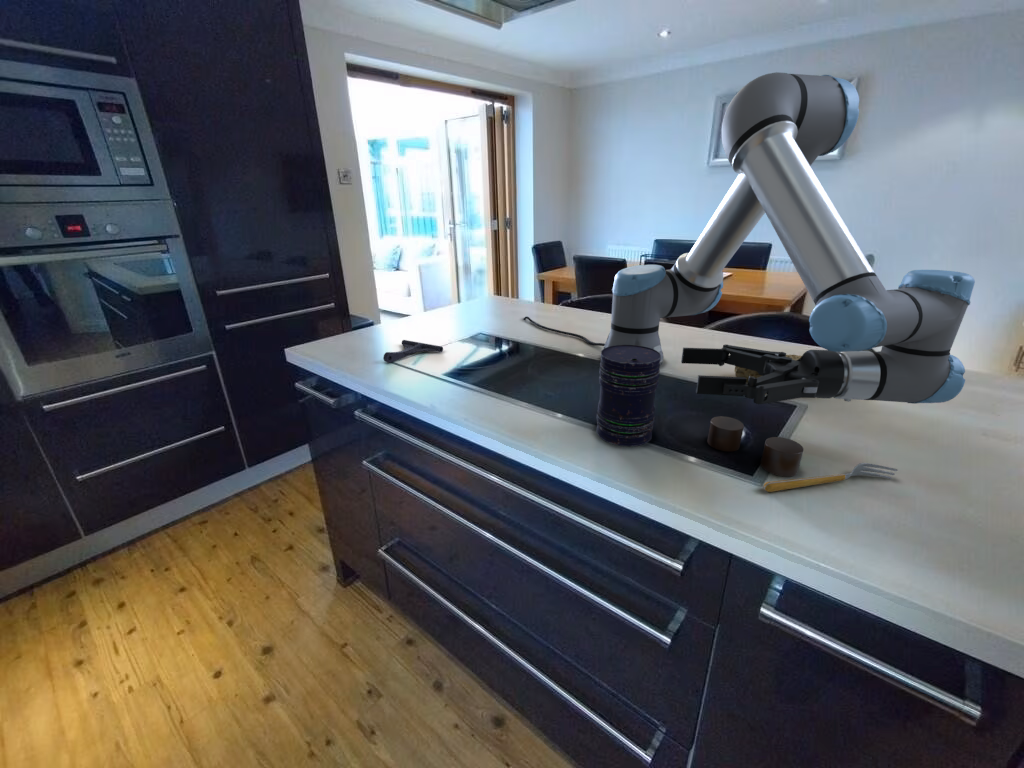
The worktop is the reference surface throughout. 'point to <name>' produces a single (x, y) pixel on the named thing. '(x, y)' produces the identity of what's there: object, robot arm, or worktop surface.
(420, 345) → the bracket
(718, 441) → the walnut disc
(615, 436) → the storage jar
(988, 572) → the worktop surface
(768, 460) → the walnut disc
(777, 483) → the fork
